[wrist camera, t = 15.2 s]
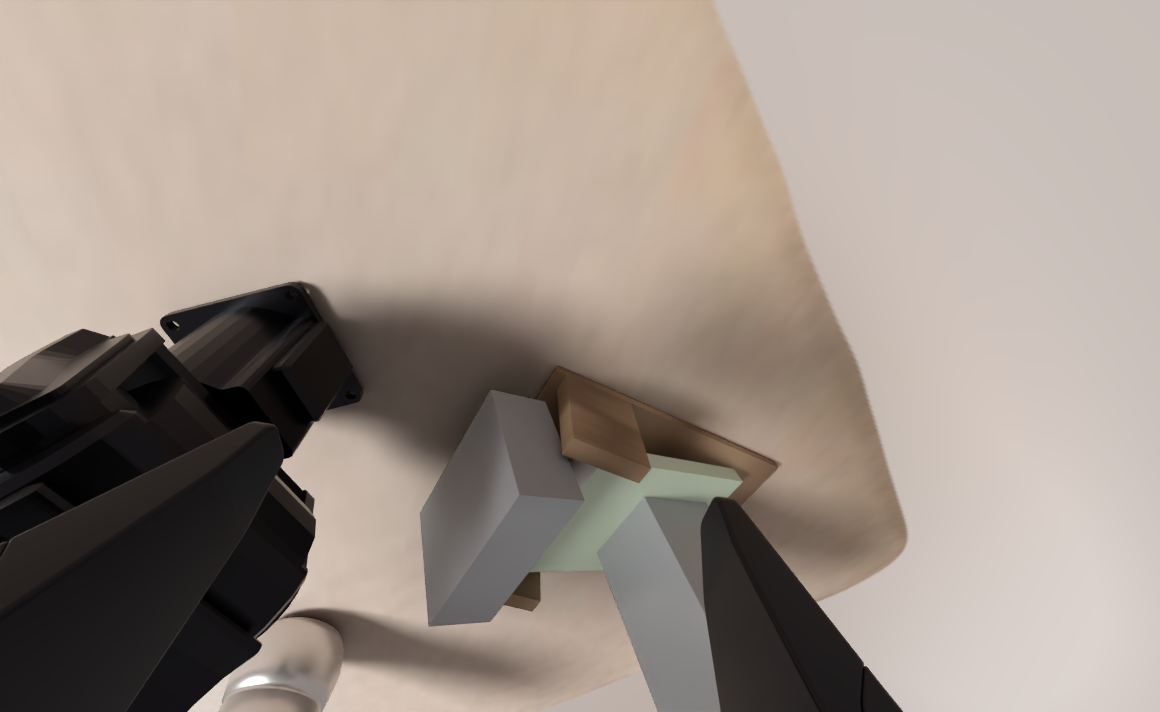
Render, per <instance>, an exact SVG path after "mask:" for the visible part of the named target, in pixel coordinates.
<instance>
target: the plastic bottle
mask: <svg viewBox="0 0 1160 712" xmlns="http://www.w3.org/2000/svg"><path fill="white" fill-rule="evenodd" d="M257 640H259V641H260V642H261V643H262V647H261V649H260V651H259V652H258V653H257V654H256V655H255V656H254V657H252V658H251V659H250V660H248V661H247V662H245V663H244V664H242V665H241V666H240V667H238V668H237V669H235V670H234V671H233V672H232V673H231V675H230V678H229V680H228V683H227V686H226V689H225V692H224V696H223V700H222V705H221V707H220V709H219V711H218V712H322V711H323V709H324V707H325V705H326V703H327V702H328V700H329V698H330V695H331V693H332V691H333V689H334V687H335V684H336V682H337V680H338V678H339V675H340V671H341V666H342V660H343V654H344V647H343V644H342V640H341V637H340V634H339V633H338V631H337V630H336V629H335V628H333V627H332V626H331V625H329V624H327V623H325V622H322V621H320V620H316V619H312V618H305V617H292V618H285V619H280V620H277V621H276V622H275V623H274V624H273V625H272V626H271V627H270V628H269V629H268V630H267V631H266V632H265V633H264V634H262V635H261V636H260V637H259V638H257Z"/></svg>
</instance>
